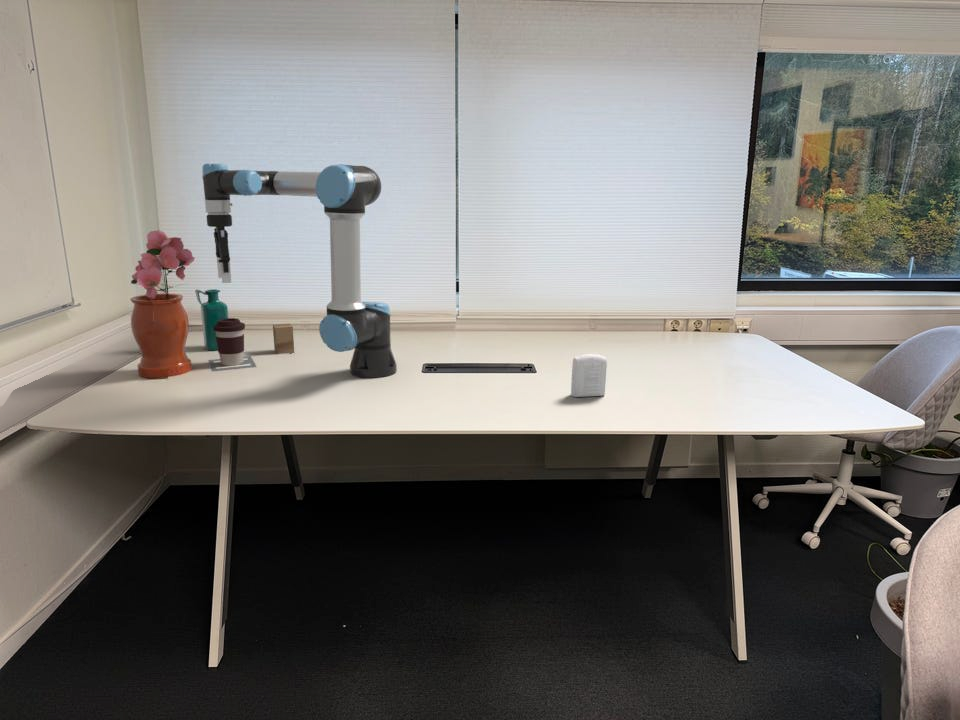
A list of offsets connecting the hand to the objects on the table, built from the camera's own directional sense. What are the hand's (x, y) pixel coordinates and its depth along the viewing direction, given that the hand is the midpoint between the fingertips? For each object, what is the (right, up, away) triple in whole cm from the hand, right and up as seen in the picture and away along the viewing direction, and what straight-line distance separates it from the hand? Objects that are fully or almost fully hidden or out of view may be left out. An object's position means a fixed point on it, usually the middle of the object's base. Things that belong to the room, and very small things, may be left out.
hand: (224, 280), depth 218 cm
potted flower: (-17, -30, -1) cm, 35 cm away
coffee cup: (0, -28, +7) cm, 28 cm away
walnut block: (+13, -24, +24) cm, 36 cm away
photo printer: (+115, -37, -23) cm, 123 cm away
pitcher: (-15, -22, +30) cm, 40 cm away
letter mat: (0, -28, +7) cm, 29 cm away
